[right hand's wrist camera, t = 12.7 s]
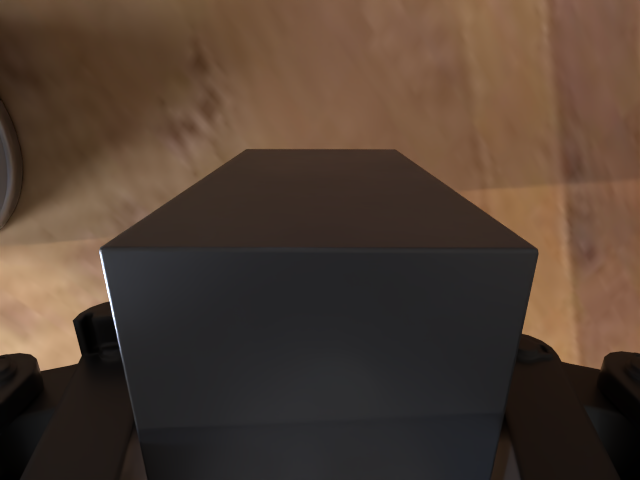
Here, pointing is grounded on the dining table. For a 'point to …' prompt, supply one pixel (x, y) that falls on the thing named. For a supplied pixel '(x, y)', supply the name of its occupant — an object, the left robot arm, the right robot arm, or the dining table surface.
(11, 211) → the right robot arm
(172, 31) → the dining table surface
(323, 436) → the beam
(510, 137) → the dining table surface
